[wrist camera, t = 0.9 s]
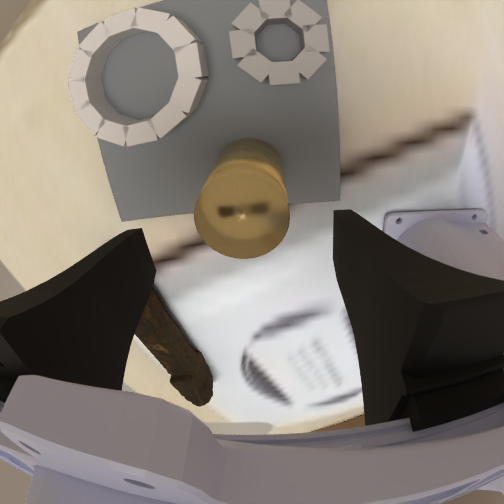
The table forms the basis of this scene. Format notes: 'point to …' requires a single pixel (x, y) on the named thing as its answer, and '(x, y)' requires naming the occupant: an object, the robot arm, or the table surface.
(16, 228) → the table surface
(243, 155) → the round peg
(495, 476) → the robot arm
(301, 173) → the fitting board
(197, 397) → the brown wooden stick
